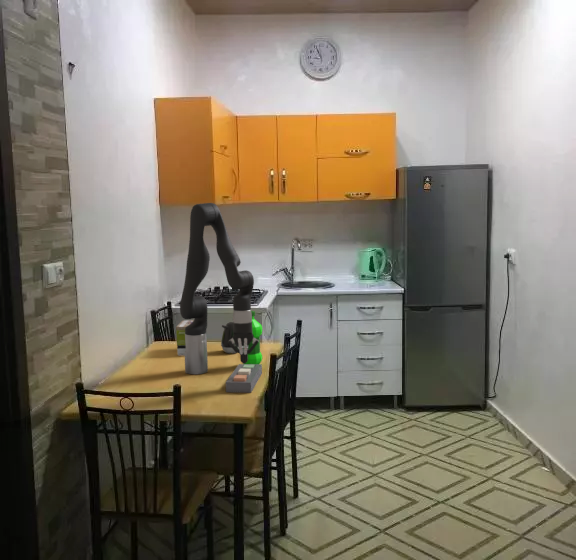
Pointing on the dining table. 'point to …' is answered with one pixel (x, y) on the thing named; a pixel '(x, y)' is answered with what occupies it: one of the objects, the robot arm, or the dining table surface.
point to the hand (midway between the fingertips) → (244, 362)
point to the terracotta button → (240, 378)
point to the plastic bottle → (256, 355)
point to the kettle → (228, 337)
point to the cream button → (244, 372)
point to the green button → (249, 366)
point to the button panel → (241, 385)
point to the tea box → (181, 337)
